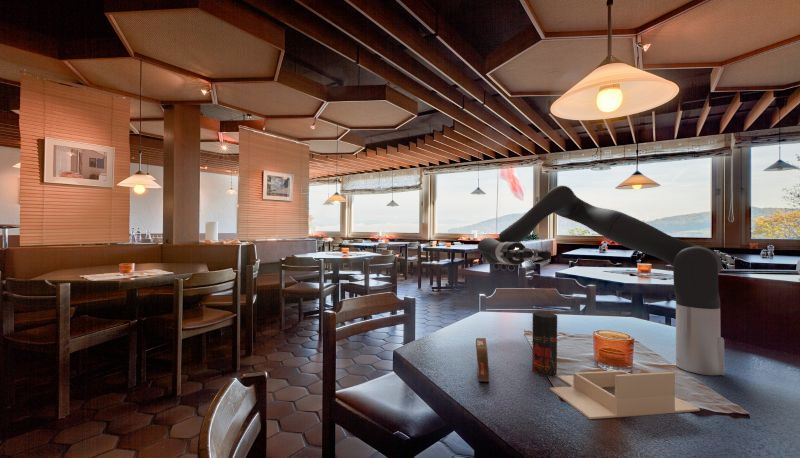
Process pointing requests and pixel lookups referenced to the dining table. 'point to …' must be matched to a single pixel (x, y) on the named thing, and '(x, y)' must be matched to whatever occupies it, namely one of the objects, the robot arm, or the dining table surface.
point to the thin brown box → (482, 360)
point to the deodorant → (544, 344)
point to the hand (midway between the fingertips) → (536, 255)
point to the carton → (622, 394)
